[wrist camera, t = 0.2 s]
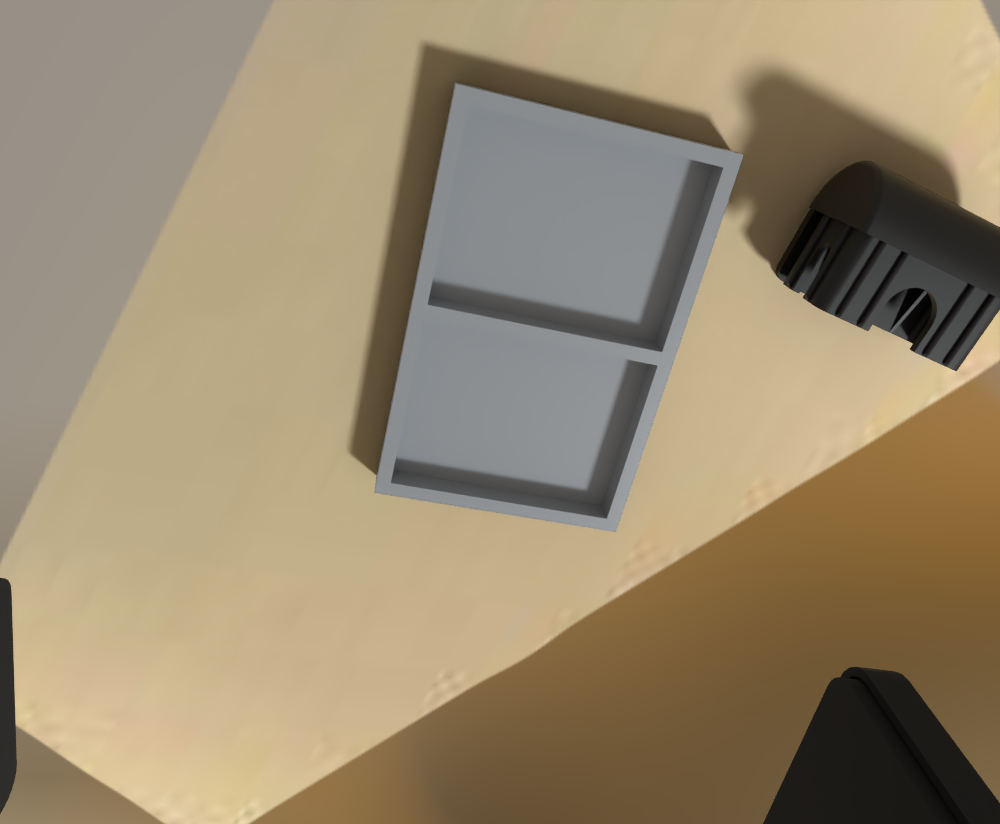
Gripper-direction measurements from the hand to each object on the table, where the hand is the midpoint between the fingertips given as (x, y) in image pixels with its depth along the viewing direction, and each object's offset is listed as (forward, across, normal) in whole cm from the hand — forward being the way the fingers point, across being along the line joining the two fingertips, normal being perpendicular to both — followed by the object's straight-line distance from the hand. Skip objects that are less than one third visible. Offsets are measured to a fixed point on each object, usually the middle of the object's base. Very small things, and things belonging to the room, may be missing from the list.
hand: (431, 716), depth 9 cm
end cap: (+37, -24, -2) cm, 44 cm away
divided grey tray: (+36, -7, +6) cm, 38 cm away
